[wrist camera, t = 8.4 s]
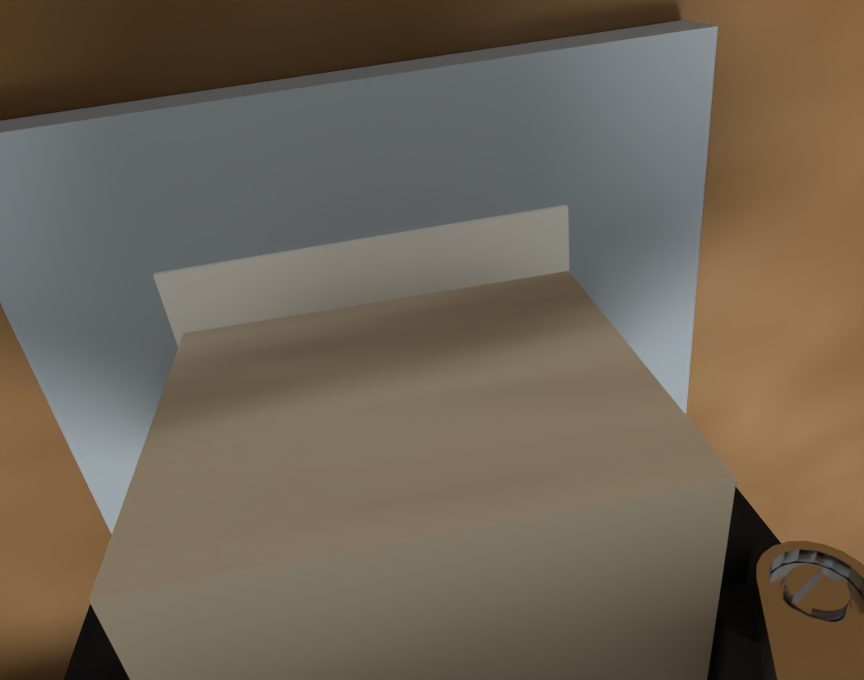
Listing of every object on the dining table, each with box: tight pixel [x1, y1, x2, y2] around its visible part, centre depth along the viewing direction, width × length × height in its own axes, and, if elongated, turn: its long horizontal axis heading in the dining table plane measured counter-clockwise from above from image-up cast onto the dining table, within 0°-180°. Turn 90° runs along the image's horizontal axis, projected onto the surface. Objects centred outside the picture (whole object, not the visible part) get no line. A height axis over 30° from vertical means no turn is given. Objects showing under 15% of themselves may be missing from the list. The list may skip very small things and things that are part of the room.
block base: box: [89, 271, 737, 680], centre depth 10 cm, size 6×6×5 cm
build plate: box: [0, 20, 718, 534], centre depth 14 cm, size 12×12×1 cm
